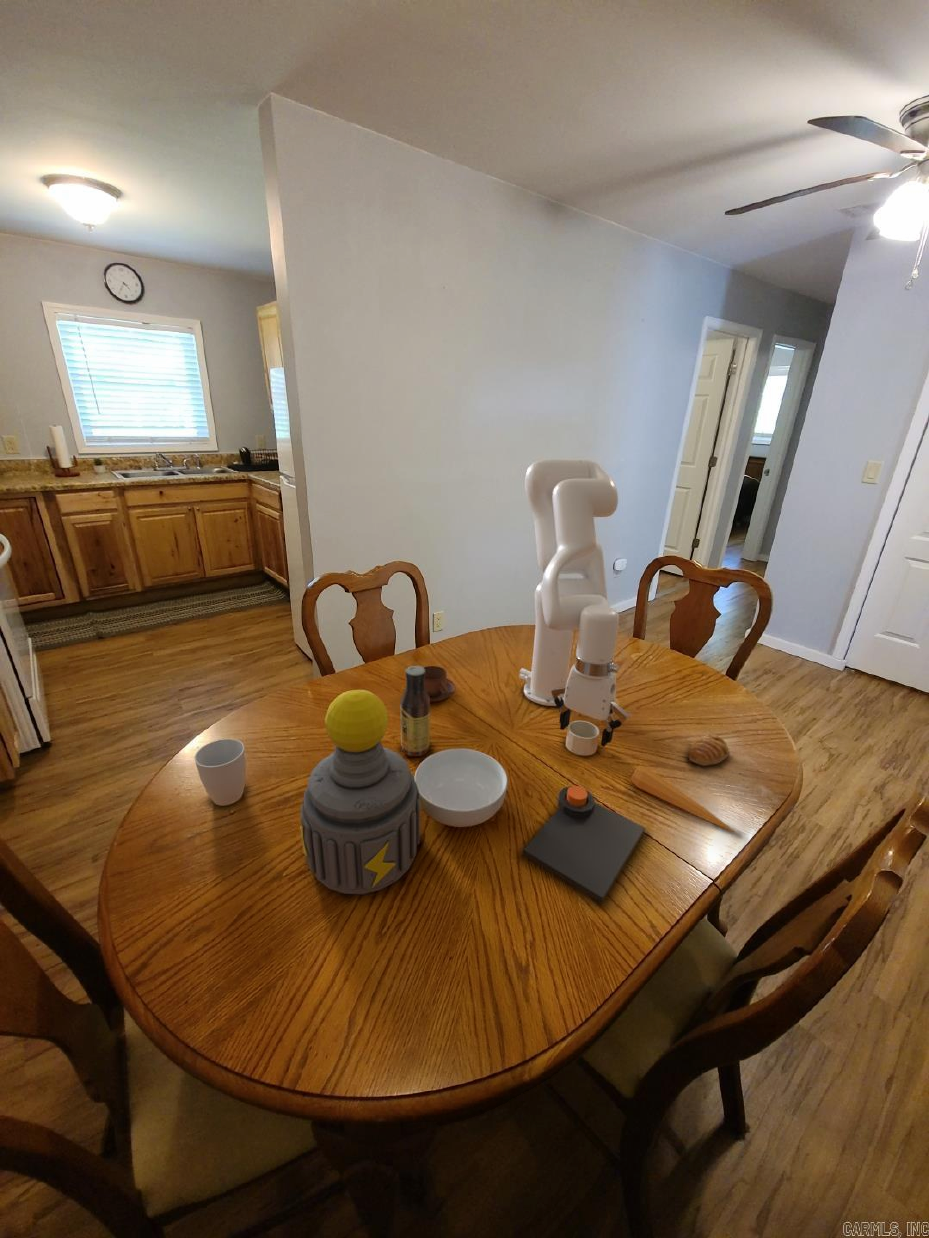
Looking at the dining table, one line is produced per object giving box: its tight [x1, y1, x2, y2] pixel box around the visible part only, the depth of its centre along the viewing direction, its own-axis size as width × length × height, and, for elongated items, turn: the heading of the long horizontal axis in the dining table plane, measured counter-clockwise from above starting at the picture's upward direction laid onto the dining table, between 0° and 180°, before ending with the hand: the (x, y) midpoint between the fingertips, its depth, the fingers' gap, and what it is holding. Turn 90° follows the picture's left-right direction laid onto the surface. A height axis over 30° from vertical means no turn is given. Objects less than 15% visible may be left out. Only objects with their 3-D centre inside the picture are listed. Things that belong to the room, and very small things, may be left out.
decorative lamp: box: [299, 689, 423, 895], centre depth 78 cm, size 19×19×30 cm
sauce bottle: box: [399, 665, 431, 758], centre depth 105 cm, size 7×6×20 cm
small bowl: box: [565, 720, 600, 757], centre depth 111 cm, size 7×7×4 cm
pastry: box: [688, 734, 731, 767], centre depth 109 cm, size 9×7×4 cm
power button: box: [566, 785, 588, 807], centre depth 92 cm, size 4×4×2 cm
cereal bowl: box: [413, 748, 509, 828], centre depth 92 cm, size 17×17×7 cm
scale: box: [522, 785, 646, 905], centre depth 86 cm, size 15×18×3 cm
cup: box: [194, 738, 247, 807], centre depth 92 cm, size 8×8×10 cm
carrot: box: [630, 765, 737, 834], centre depth 95 cm, size 20×4×4 cm, turn 48°
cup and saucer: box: [423, 665, 456, 703], centre depth 129 cm, size 12×12×6 cm
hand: (584, 735), depth 109 cm, fingers open, 9 cm apart
